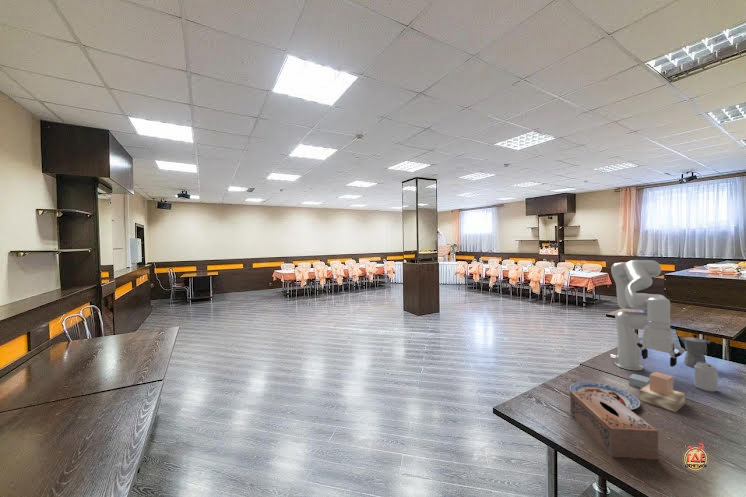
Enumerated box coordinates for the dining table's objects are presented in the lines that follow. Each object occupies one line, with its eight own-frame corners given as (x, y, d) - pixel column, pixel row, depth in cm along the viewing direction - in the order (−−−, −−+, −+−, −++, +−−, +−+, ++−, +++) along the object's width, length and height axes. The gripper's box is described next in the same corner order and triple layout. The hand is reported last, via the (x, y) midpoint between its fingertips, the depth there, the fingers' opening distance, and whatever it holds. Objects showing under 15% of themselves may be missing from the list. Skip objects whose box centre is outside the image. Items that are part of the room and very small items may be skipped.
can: (722, 393, 141) (722, 367, 141) (703, 392, 143) (703, 366, 143) (708, 385, 149) (708, 361, 149) (690, 384, 150) (690, 360, 150)
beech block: (639, 400, 137) (639, 389, 137) (649, 393, 143) (649, 383, 143) (675, 413, 127) (675, 401, 127) (685, 404, 133) (685, 393, 133)
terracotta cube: (649, 389, 137) (649, 374, 137) (655, 386, 140) (655, 371, 139) (667, 395, 132) (667, 379, 131) (673, 392, 134) (673, 376, 134)
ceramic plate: (641, 397, 140) (641, 391, 139) (638, 422, 121) (638, 414, 121) (575, 381, 157) (575, 375, 157) (564, 400, 139) (564, 393, 139)
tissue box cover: (658, 460, 100) (658, 430, 100) (610, 457, 102) (610, 428, 101) (607, 416, 125) (607, 392, 125) (570, 414, 127) (570, 391, 127)
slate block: (629, 385, 152) (628, 377, 152) (633, 381, 156) (633, 373, 156) (647, 390, 146) (647, 382, 146) (651, 386, 150) (651, 378, 150)
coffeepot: (677, 364, 175) (677, 333, 174) (680, 360, 180) (680, 330, 180) (717, 373, 162) (717, 339, 162) (719, 368, 168) (719, 336, 168)
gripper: (631, 321, 142) (631, 357, 143) (681, 331, 127) (680, 371, 128) (638, 319, 146) (638, 354, 146) (688, 328, 130) (688, 367, 131)
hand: (658, 362), depth 137 cm, fingers open, 9 cm apart
